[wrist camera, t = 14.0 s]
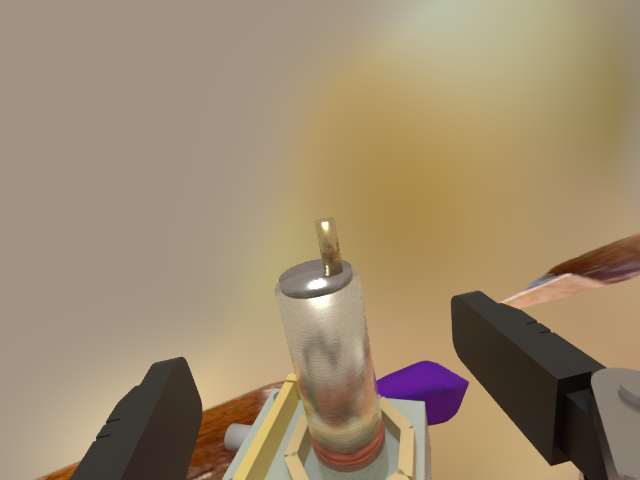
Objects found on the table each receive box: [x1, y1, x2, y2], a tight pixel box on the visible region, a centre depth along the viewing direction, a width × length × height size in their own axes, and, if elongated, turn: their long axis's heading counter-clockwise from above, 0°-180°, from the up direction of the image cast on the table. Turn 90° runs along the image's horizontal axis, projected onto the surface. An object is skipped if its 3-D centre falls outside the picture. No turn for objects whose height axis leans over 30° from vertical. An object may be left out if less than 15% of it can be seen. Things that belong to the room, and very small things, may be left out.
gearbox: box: [222, 373, 431, 480], centre depth 28 cm, size 20×12×8 cm, turn 72°
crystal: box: [376, 361, 469, 426], centre depth 35 cm, size 5×5×15 cm
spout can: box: [275, 218, 389, 480], centre depth 22 cm, size 6×6×20 cm
